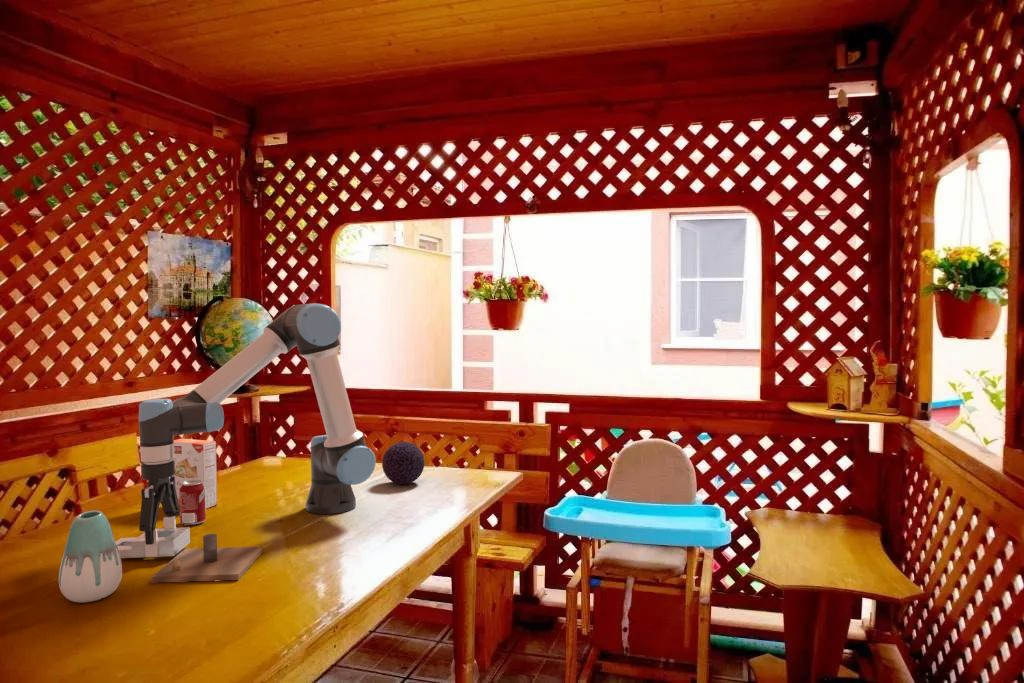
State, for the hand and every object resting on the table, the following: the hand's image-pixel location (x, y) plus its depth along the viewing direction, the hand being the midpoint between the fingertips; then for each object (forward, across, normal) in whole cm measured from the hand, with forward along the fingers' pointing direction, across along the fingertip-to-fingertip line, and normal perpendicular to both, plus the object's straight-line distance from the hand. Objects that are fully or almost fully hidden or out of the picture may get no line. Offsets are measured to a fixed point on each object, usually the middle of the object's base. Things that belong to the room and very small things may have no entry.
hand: (161, 548), depth 174 cm
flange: (0, 0, -3) cm, 3 cm away
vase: (+1, +26, -3) cm, 27 cm away
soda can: (+2, -27, -2) cm, 27 cm away
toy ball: (+3, -70, +55) cm, 89 cm away
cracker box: (+2, -46, -9) cm, 47 cm away
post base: (+2, +10, +16) cm, 19 cm away
